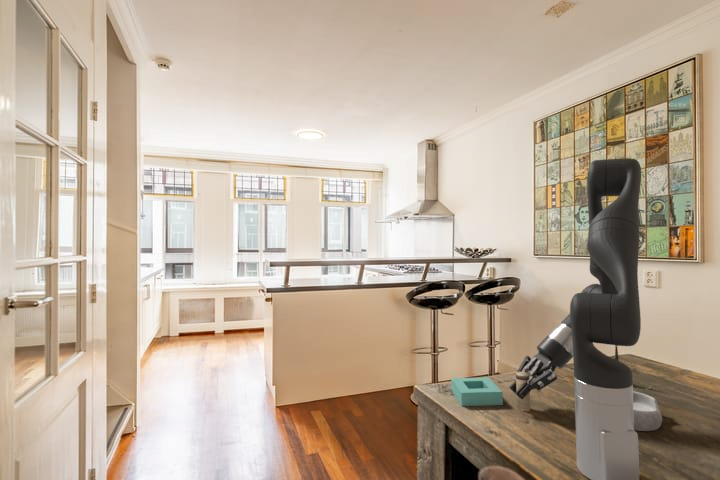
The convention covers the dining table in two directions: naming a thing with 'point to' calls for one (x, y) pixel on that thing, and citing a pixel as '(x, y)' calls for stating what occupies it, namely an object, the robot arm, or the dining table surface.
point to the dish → (646, 412)
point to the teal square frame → (476, 391)
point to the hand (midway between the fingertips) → (515, 393)
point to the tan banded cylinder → (525, 402)
